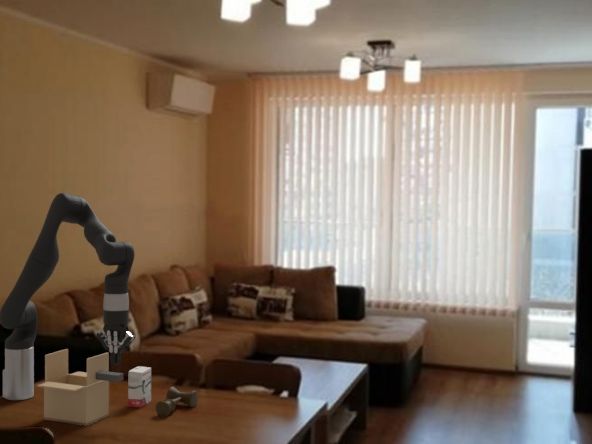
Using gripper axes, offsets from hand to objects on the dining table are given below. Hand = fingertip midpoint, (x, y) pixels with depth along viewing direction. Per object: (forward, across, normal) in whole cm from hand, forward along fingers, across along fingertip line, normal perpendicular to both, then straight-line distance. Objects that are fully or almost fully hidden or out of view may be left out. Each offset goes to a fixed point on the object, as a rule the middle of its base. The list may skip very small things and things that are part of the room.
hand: (115, 364), depth 221 cm
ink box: (+18, -6, +21) cm, 29 cm away
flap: (+2, -7, 0) cm, 7 cm away
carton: (+18, -14, 0) cm, 23 cm away
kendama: (+19, +8, +22) cm, 30 cm away
